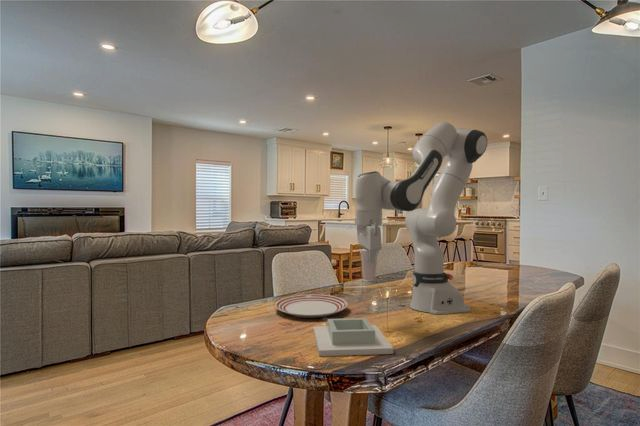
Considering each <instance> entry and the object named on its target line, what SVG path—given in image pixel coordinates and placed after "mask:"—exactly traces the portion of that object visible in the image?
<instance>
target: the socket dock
mask: <svg viewBox="0 0 640 426" xmlns="http://www.w3.org/2000/svg"><path fill="white" fill-rule="evenodd" d="M312 331H313V335H314V340H315V344H316V348H317V354H318V356H319V357H334V356H335V357H336V356H338V357H340V356H361V355H362V356H363V355H364V356H365V355H367V356H368V355H390V354H391V355H393V354H394V347H393V346H392V344H391V342H390V341H389V340H388V339H387V338H386V337H385V335H384V334H383V333H382V331H381V330H380V329H379V328H378V326H377V325H376V324H371V323H370V321H369V320H368V319H367V318H366V317H358V318H357V317H356V318H327V325H326V326H325V325H324V326H323V325H321V326H320V325H319V326H313V330H312Z"/></svg>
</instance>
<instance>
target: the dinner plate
mask: <svg viewBox="0 0 640 426" xmlns="http://www.w3.org/2000/svg"><path fill="white" fill-rule="evenodd" d="M274 307H275V308H276V309H277V310H278V311H280V312H282V313H285V314H288V315H291V316H294V317H298V318H307V319H308V318H310V319H311V318H324V317H328V316H331V315H335V314H337V313H340V312H341V311H343V310H344V309H346V308H347V307H348V302H347V301H346V300H345V299H343V298H341V297H338V296H335V295H334V296H333V295H328V294H310V293H309V294H297V295H292V296H291V295H290V296H287V297H284V298H281V299H279V300H278V301H276V302H275V304H274Z"/></svg>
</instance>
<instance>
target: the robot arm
mask: <svg viewBox="0 0 640 426" xmlns="http://www.w3.org/2000/svg"><path fill="white" fill-rule="evenodd" d="M487 147H488V138H487V135H486V134H485V132H483V131H481V130H478V129H470V128H463V127H462V128H461V127H458V128H456V127H455V126H454V125H453V124H451V123H449V122H446V121H441V122H438V123H436V124H434V125H433V126H432V127H431V128H429V130H427V131H426V132H425V133H424V134H423V135H422V136H421V137H420V139H418V141H417V142H416V143H415V145H414V146H413V149H412V152H411V153H412V158H413V159H414V162H415V163H416V164H417V167H416V168H415V170H414V171H413V173H412V175H411V176H410V177H408V178H405V179H403V180H397V181H392V180H390V179H387V178H386V177H384V176H383V175H381V173H380V172H379V171H375V170H374V171H370V172H364V173H360V174H359V175H357V178H356V183H355V191H354V192H355V196H354V198H355V201H356V202H355V203H356V207H355V218H354V222H355V226H356V232H357V233H356V234H357V235H356V236H357V243H358V244H359V245H360V246H362V249H369V262H370V263H375V256H376V250H379V251H382V231H381V228H380V227H381V226H382V225H383V210H385V211H386V210H387V211H388V210H389V211H390V210H391V211H403V212H408V213H407V214H406V216H405V219H404V224H405V225H404V226H405V227H406V229H407V231H408V233H409V235H410V238H411V242H412V243H411V244H412V247H413V255H414V256H413V260H414V261H413V264H414V266H413V267H414V270H413V272H412V285H413V289H412V296H411V301H410V304H409V308H411V309H413V310H415V311H418V312H419V311H420V312H425V313H430V314H434V315H446V314H455V313H467V312H471V307H470V306H469V305H468V304H466V303H465V301H464V300H465V299H464V295H463V293H462V292H461V291H460V290H458V288H456V287H455V286H454V285H452V284H451V283H450V282H449V281H452V280H453V279H454V275H453V274H450V273H446V272H444V268H445V267H444V265H445V264H444V263H445V262H444V261H445V259H444V258H445V257H444V251H443V249H442V248H441V246H440V244H439V241H438V238H443V237H444V238H445V237H449V236H451V235H452V234H453V233H454V232H455V230H456V229H457V218H456V215H455V213H456V212H455V211H456V207H457V203H458V201H459V199H460V197H461V195H462V193H463V190H464V189H465V187H466V185H467V184H468V181H469V179H470V177H471V173H472V171H473V163H476V162H477V161H478V159H480V158H481V157H482V156H483V155H484V153H485V152H486V151H487ZM445 157H448V158H447V159H448V160H447V162H446V163H445V164H444V166H443V167H442V168H441V166H442V164H443V160H444V158H445ZM440 168H441V170H440ZM439 170H440V172H439ZM438 172H439V173H438ZM437 173H438V175H437ZM436 175H437V178H436V179H435V181H434V182H433V185H432V187H431V188H430V191H429V192H430V203H429V205H428V206H427V207H426V208H425V207H424V208H421V207H420V208H418V207H419V206H420V204H421V202H422V199H423V197H424V195H425V191H426V190H427V188H428V186H429V185H430V183H431V182H432V181H433V180H434V178H435V177H436Z"/></svg>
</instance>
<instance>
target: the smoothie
mask: <svg viewBox="0 0 640 426" xmlns="http://www.w3.org/2000/svg"><path fill="white" fill-rule="evenodd" d="M379 252H380V250H376V256H375V263H370V262H369V249H363V248H362V249H359V254H360V260H361V268H362V277H363V280H367V281H368V280H371V281H372V280H375V278H376V277H375V276H376V269H377V263H378V262H377V261H378V256H379V255H378V254H379Z"/></svg>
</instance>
